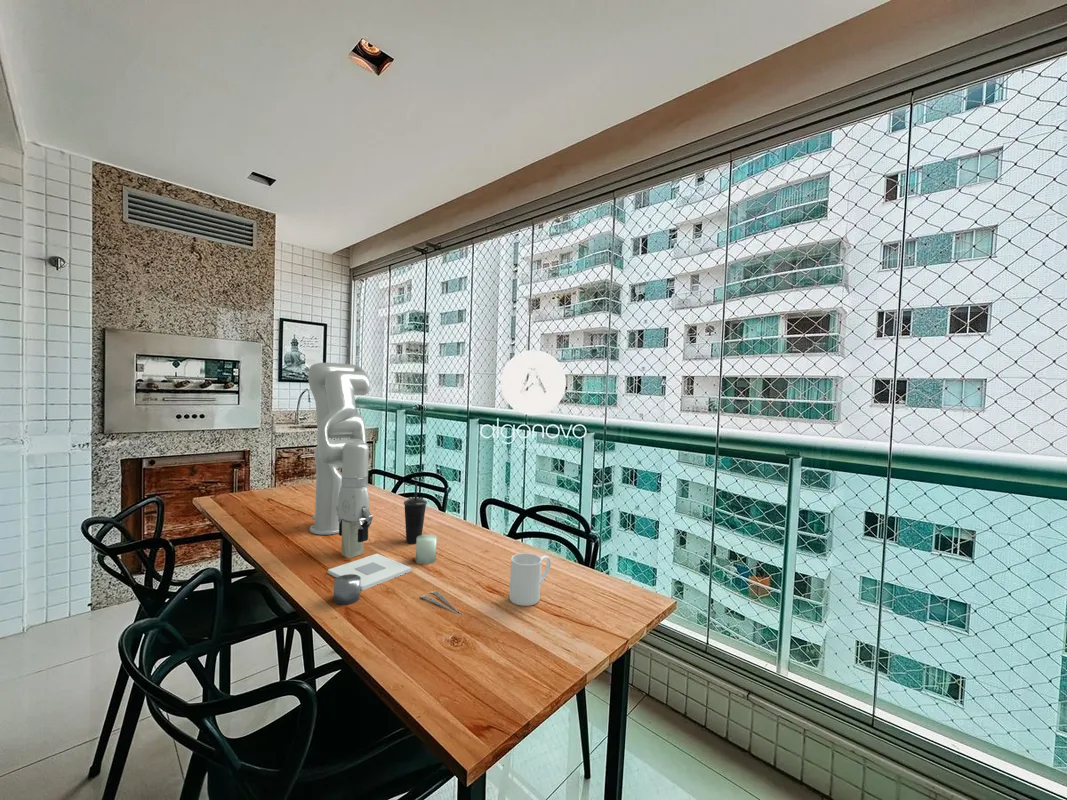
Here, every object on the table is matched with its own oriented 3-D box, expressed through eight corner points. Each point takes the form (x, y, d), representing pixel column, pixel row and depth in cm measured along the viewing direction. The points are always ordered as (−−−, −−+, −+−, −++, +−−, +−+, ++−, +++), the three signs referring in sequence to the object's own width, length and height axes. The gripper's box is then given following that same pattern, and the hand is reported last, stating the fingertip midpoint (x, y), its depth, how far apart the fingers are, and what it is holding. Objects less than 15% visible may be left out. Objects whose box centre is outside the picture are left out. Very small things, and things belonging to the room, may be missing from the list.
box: (356, 550, 142) (357, 515, 141) (363, 554, 139) (364, 519, 138) (340, 554, 137) (341, 519, 137) (347, 558, 135) (348, 522, 134)
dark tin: (328, 599, 110) (329, 579, 110) (350, 591, 115) (351, 572, 115) (342, 607, 106) (343, 587, 106) (364, 598, 111) (365, 579, 111)
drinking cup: (428, 538, 155) (430, 481, 154) (420, 546, 148) (423, 486, 147) (407, 536, 156) (409, 480, 155) (398, 544, 148) (400, 485, 148)
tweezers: (418, 599, 113) (419, 591, 113) (433, 594, 117) (434, 586, 117) (462, 631, 102) (463, 623, 102) (477, 624, 105) (478, 616, 105)
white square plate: (327, 573, 124) (327, 569, 124) (377, 556, 137) (377, 553, 137) (362, 590, 115) (362, 586, 115) (411, 571, 128) (411, 567, 128)
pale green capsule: (411, 560, 136) (412, 538, 136) (426, 555, 141) (427, 533, 141) (424, 566, 132) (425, 542, 132) (439, 560, 137) (440, 537, 137)
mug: (522, 609, 110) (524, 567, 109) (503, 597, 116) (505, 557, 115) (558, 596, 118) (560, 557, 117) (538, 585, 124) (540, 547, 123)
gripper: (327, 480, 139) (326, 535, 139) (360, 488, 129) (359, 547, 129) (349, 477, 145) (347, 529, 145) (382, 484, 135) (381, 540, 136)
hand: (353, 537), depth 137 cm, fingers open, 9 cm apart
